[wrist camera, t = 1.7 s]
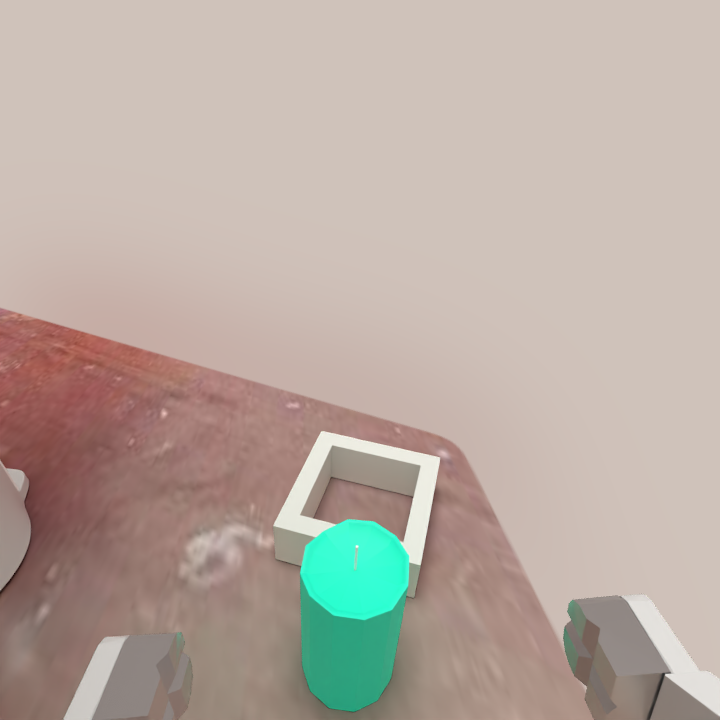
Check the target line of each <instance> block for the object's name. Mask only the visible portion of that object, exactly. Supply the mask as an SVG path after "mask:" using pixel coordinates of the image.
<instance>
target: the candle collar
mask: <svg viewBox="0 0 720 720" xmlns="http://www.w3.org/2000/svg"><path fill="white" fill-rule="evenodd" d="M439 462H440V457H435V456H431V455H427V454H422V453H418V452H413V451H409V450H404V449H400V448H395V447H391V446H386V445H382V444H378V443H373V442H369V441H364V440H360V439H355V438H351V437H346V436H342V435H338V434H333V433H329V432H324V431H321V433H320V435H319V437H318V439H317V441H316V443H315V445H314V447H313V449H312V451H311V453H310V455H309V457H308V459H307V461H306V463H305V465H304V466H303V468H302V470H301V472H300V474H299V476H298V478H297V480H296V482H295V484H294V486H293V488H292V490H291V492H290V494H289V496H288V498H287V500H286V502H285V504H284V506H283V508H282V510H281V512H280V514H279V516H278V518H277V520H276V521H275V523H274V525H273V529H274V544H275V559H277V560H281V561H284V562H288V563H291V564H295V565H298V566H302V561H303V557H304V552H305V547H306V545H307V544H308V543H310V542H311V541H312V540H313V539H314V538H316V537H317V536H318V535H319V534H321V533H322V532H323V531H325V530H327V529H329V528H331V527H333V526H335V525H336V524H332V523H328V522H324V521H321V520H317V519H313V518H314V515H315V513H316V511H317V508H318V506H319V504H320V502H321V499H322V497H323V495H324V492H325V490H326V488H327V485H328V483H329V481H330V478H331V477H334V478H338V479H342V480H346V481H350V482H355V483H359V484H363V485H367V486H371V487H375V488H379V489H383V490H388V491H392V492H396V493H400V494H404V495H408V496H412V497H414V498H413V502H412V507H411V511H410V516H409V520H408V525H407V529H406V533H405V538H404V542H401V541H400V543H401V544H402V546H403V547H404V549H405V550H406V552H407V553H408V555H409V582H408V590H407V595H406V596H408V597H412V598H414V596H415V591H416V586H417V581H418V576H419V571H420V566H421V561H422V556H423V550H424V545H425V539H426V534H427V528H428V523H429V517H430V512H431V506H432V501H433V495H434V490H435V484H436V479H437V473H438V468H439Z"/></svg>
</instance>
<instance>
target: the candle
mask: <svg viewBox="0 0 720 720" xmlns="http://www.w3.org/2000/svg"><path fill="white" fill-rule="evenodd" d="M408 582H409V555H408V553H407V552H406V550H405V549H404V547H403V546H402V544H401V543H400V541H399V540H398V538H397V537H396V536H395V535H394V534H392V533H391V532H389V531H388V530H386V529H385V528H383V527H382V526H380V525H379V524H377V523H376V522H373V521H362V520H350V519H348V520H346V521H343V522H341V523H339V524H337V525H335V526H333V527H331V528H329V529H327V530H325V531H323V532H322V533H321V534H319V535H318V536H317V537H316V538H314V539H313V540H312V541H311V542H310V543H308V544H307V545H306V547H305V552H304V557H303V561H302V566H301V571H300V594H301V637H302V668H303V671H304V674H305V677H306V680H307V683H308V686H309V689H310V692H312V693H313V694H314V695H315V696H316V697H317V698H318V699H319V700H321V701H322V702H323V703H324V704H325V705H326V706H327V707H328V708H330V709H337V710H344V711H351V712H356V711H358V710H360V709H362V708H364V707H366V706H368V705H370V704H372V703H374V702H376V701H378V699H379V697H380V696H381V694H382V693H383V691H384V689H385V688H386V686H387V685H388V683H389V681H390V680H391V676H392V671H393V665H394V660H395V654H396V649H397V644H398V638H399V633H400V628H401V622H402V617H403V612H404V606H405V601H406V595H407V590H408Z"/></svg>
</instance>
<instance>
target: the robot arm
mask: <svg viewBox="0 0 720 720" xmlns="http://www.w3.org/2000/svg"><path fill="white" fill-rule="evenodd" d="M28 487H29V480H28V478H27V476H26V475H25V474H24V472H23V471H21V470H17V469H7V468H5V467H4V465H3V464H2V462H1V460H0V590H1V589H2V588H3V587H4V586H5V585H6V583H7V582H8V581H9V580H10V578H11V577H12V576H13V574H14V573H15V571H16V570H17V568H18V567H19V565H20V563H21V562H22V560H23V558H24V556H25V553H26V551H27V548H28V545H29V541H30V536H31V524H30V519H29V516H28V514H27V511H26V509H25V504H24V501H25V498H26V495H27V491H28ZM567 612H568V614H569V616H570V618H571V621H570V622H569V623H568V624H567V625H566V626H565V629H564V637H563V639H564V646H565V652H566V656H567V659H568V662H569V665H570V667H571V669H572V672H573V674H574V676H575V677H576V678H577V679H578V680H580V681H581V682H582V683H583V684H584V685H586V686H587V690H586V695H585V701H586V703H587V705H588V708H589V710H590V712H591V714H592V717H593V719H594V720H720V679H719V678H718V677H716V676H715V675H713V674H712V673H710V672H709V671H700V670H699V669H698V667H697V666H696V665H695V663H694V661H693V660H692V659H691V657H690V656H689V654H688V653H687V651H686V650H685V648H684V647H683V645H682V644H681V643H680V641H679V640H678V638H677V637H676V635H675V634H674V632H673V631H672V630H671V628H670V627H669V625H668V624H667V623H666V621H665V619H664V618H663V617H662V615H661V614H660V612H659V611H658V609H657V608H656V606H654V604H653V602H652V601H651V599H650V598H649V597H647V596H646V595H645V594H637V595H626V596H607V597H596V598H586V599H576V600H572V601H571V602H570V603H569V607H568V611H567ZM184 645H185V641H184V639H183V636H182V633H181V632H178V633H162V634H145V635H126V636H114V637H105V638H104V639H103V640H102V641H101V643H100V644H99V645H98V646H97V648H96V650H95V652H94V655H93V657H92V659H91V661H90V663H89V665H88V667H87V669H86V672H85V674H84V676H83V678H82V680H81V682H80V684H79V687H78V689H77V691H76V693H75V695H74V697H73V699H72V702H71V704H70V706H69V708H68V710H67V712H66V714H65V716H64V719H63V720H178V719H179V718H180V716H181V715H182V714H183V713H184V712H185V711H186V709H187V708H188V703H189V699H190V695H191V688H192V678H193V674H192V664H191V661H190V657H189V656H187V655H186V654H184V653H183V648H184Z"/></svg>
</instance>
